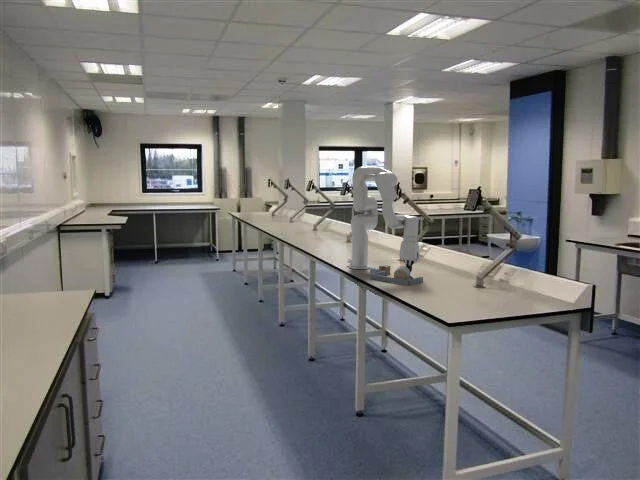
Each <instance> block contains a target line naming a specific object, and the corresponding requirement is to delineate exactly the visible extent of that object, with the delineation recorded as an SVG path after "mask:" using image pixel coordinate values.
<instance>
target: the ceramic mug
mask: <svg viewBox="0 0 640 480" xmlns="http://www.w3.org/2000/svg"><path fill="white" fill-rule="evenodd" d="M393 278H398V279H404V280H410V279H414V278H415V277H412V276H411V272H410V270H409V269H408V268H407V267H406V265H401V266H398V267H397V268H396V269H395V270H394V273H393Z"/></svg>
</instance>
